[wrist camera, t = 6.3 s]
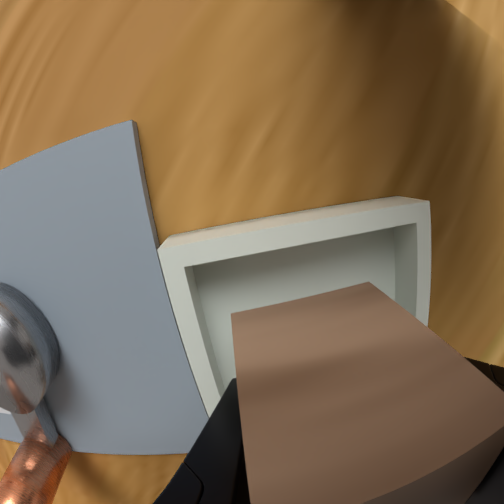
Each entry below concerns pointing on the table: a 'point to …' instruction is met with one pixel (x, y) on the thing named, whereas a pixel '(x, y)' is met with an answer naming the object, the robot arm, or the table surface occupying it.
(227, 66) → the table surface
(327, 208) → the tray
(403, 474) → the block
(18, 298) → the crank
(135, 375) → the crank deck
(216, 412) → the robot arm
